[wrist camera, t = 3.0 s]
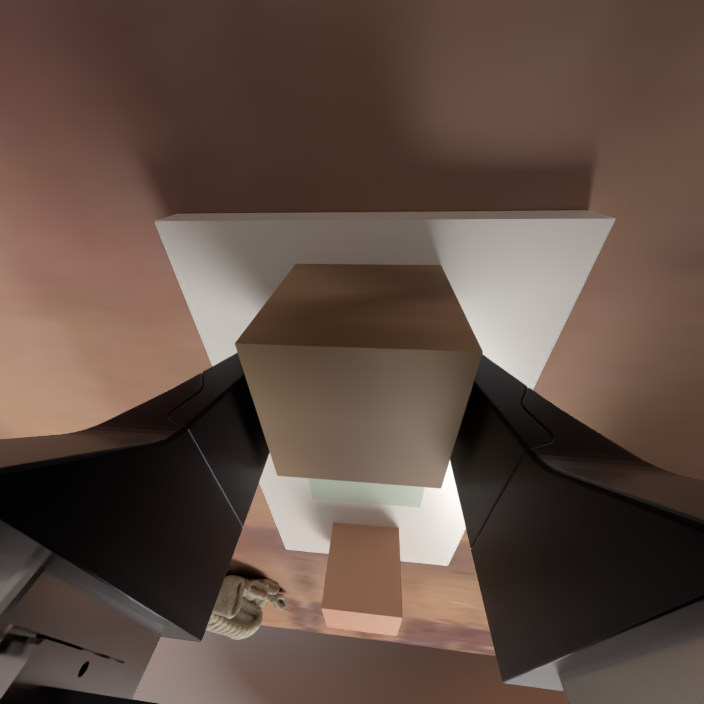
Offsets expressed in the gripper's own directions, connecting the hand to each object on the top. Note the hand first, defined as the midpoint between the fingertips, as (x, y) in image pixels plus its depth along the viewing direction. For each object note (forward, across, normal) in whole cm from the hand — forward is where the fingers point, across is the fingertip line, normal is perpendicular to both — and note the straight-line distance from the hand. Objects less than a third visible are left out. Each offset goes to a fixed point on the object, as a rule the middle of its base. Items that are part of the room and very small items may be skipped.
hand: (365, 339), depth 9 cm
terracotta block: (+1, 0, +18) cm, 18 cm away
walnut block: (+1, 0, 0) cm, 1 cm away
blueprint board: (+2, 0, +9) cm, 9 cm away
